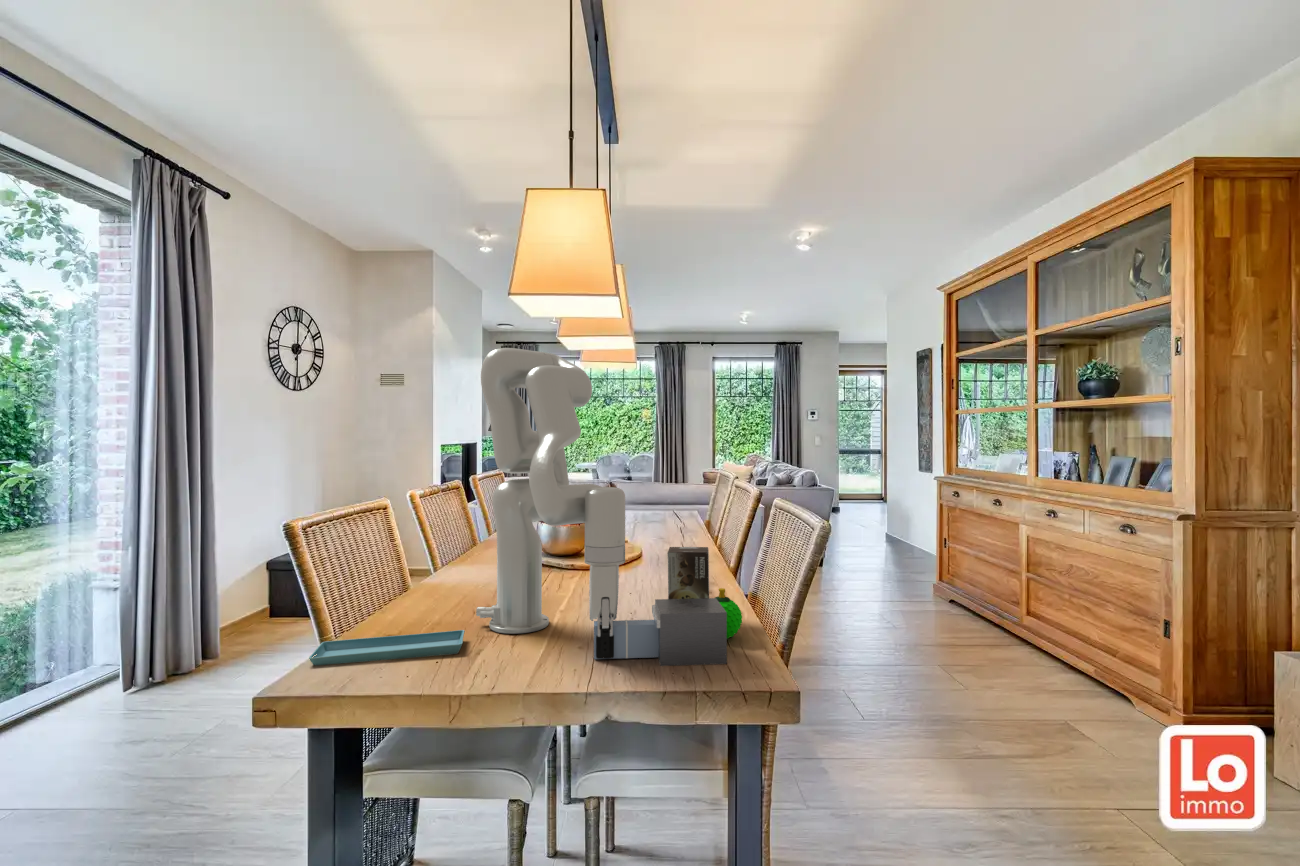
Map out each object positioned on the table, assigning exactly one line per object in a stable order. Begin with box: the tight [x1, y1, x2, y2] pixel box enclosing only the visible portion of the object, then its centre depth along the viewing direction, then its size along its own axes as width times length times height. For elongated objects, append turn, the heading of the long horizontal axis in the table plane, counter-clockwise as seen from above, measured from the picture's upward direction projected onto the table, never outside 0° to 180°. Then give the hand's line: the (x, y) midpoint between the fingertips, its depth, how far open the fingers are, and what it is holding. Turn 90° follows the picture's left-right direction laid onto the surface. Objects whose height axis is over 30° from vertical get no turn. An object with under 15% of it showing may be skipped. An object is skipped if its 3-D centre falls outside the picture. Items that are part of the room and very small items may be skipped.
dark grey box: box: [651, 597, 728, 667], centre depth 114 cm, size 13×10×9 cm
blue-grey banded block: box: [593, 619, 659, 660], centre depth 113 cm, size 14×3×6 cm, turn 95°
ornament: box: [714, 587, 743, 640], centre depth 124 cm, size 8×8×10 cm
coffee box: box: [667, 546, 710, 599], centre depth 135 cm, size 9×6×16 cm
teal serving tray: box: [308, 629, 465, 666], centre depth 116 cm, size 26×9×2 cm, turn 104°
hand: (604, 653), depth 113 cm, fingers closed on blue-grey banded block, 3 cm apart
